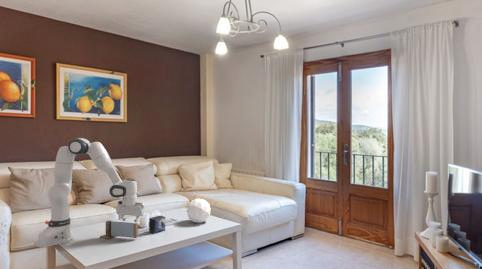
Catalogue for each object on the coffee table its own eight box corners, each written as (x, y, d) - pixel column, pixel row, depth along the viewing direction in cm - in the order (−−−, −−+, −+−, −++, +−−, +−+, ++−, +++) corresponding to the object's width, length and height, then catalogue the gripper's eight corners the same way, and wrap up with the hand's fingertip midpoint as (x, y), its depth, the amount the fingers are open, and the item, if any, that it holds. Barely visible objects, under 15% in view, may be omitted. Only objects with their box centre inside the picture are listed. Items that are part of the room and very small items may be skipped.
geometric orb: (203, 231, 267) (207, 215, 256) (180, 221, 270) (184, 205, 258) (212, 215, 282) (216, 199, 271) (191, 205, 285) (194, 189, 273)
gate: (110, 235, 231) (110, 222, 230) (113, 234, 233) (113, 221, 233) (136, 238, 226) (136, 224, 226) (137, 237, 228) (137, 223, 228)
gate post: (107, 239, 227) (107, 223, 227) (100, 237, 231) (100, 221, 231) (117, 236, 234) (117, 221, 233) (110, 234, 238) (110, 219, 238)
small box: (154, 234, 239) (154, 219, 239) (148, 232, 243) (148, 218, 243) (165, 230, 248) (165, 216, 248) (160, 228, 252) (160, 215, 252)
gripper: (146, 201, 234) (145, 221, 234) (120, 199, 239) (120, 218, 239) (141, 203, 228) (140, 224, 228) (115, 201, 233) (114, 221, 233)
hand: (130, 221), depth 234 cm, fingers open, 8 cm apart
